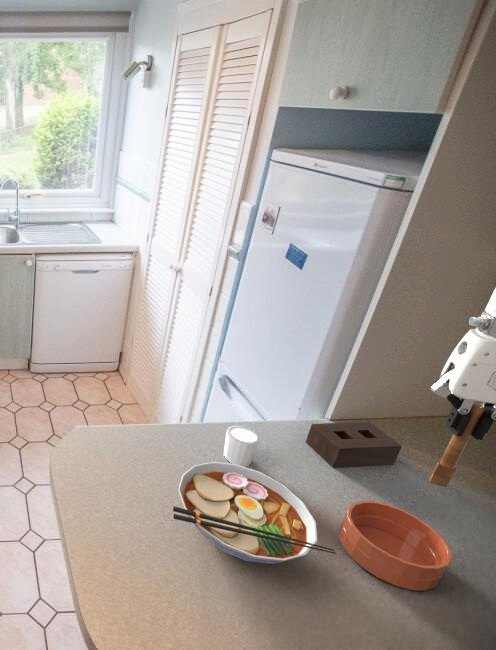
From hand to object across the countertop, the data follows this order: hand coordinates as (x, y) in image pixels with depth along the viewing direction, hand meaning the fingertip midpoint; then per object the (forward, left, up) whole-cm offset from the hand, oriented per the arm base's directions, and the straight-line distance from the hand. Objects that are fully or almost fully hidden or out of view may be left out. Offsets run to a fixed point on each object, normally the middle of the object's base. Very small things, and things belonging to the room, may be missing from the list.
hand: (463, 432), depth 72 cm
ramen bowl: (+28, +6, -27) cm, 40 cm away
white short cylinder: (+25, -17, -27) cm, 41 cm away
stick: (0, 0, -11) cm, 11 cm away
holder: (0, -28, -27) cm, 39 cm away
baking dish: (+3, +2, -27) cm, 27 cm away
